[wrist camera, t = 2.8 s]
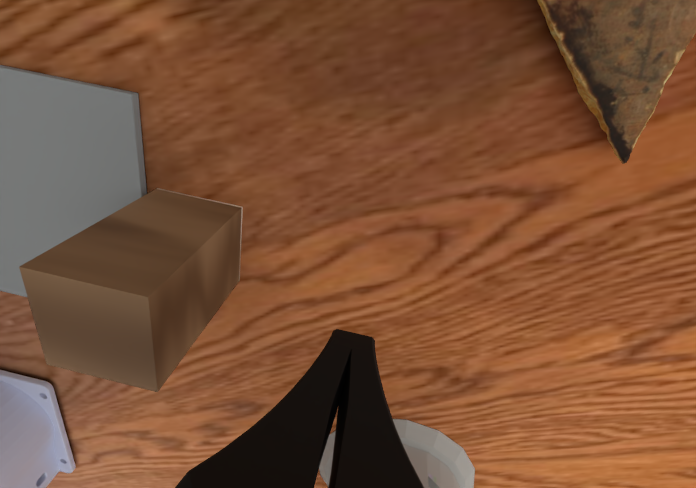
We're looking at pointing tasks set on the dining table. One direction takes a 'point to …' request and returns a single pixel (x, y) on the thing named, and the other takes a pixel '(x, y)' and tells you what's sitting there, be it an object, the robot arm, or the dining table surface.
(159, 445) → the dining table surface
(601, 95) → the shard
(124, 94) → the felt mat
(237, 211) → the walnut block
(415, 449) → the french press
